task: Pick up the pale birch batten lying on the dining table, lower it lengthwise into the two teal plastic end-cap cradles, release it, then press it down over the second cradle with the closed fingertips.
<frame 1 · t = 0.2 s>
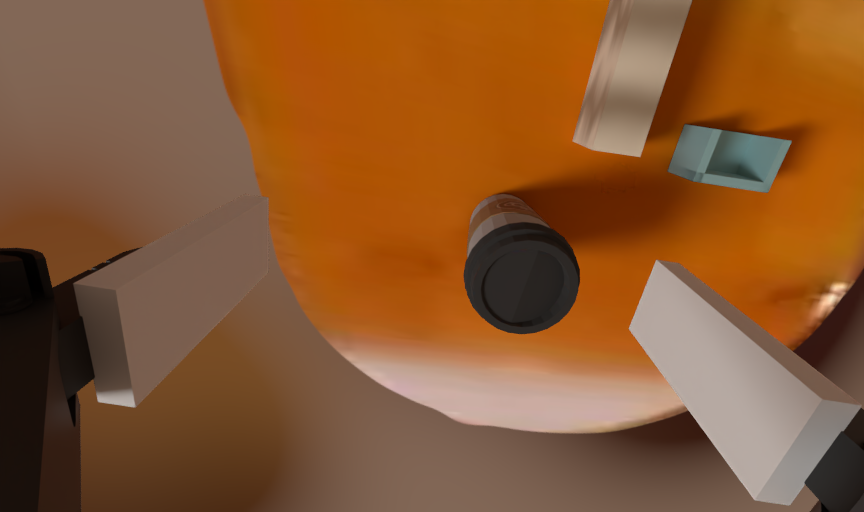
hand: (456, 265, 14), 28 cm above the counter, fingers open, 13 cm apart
slat: (626, 25, 35), on the counter
end caps: (753, 45, 35), on the counter
coffee cup: (500, 222, 42), on the counter
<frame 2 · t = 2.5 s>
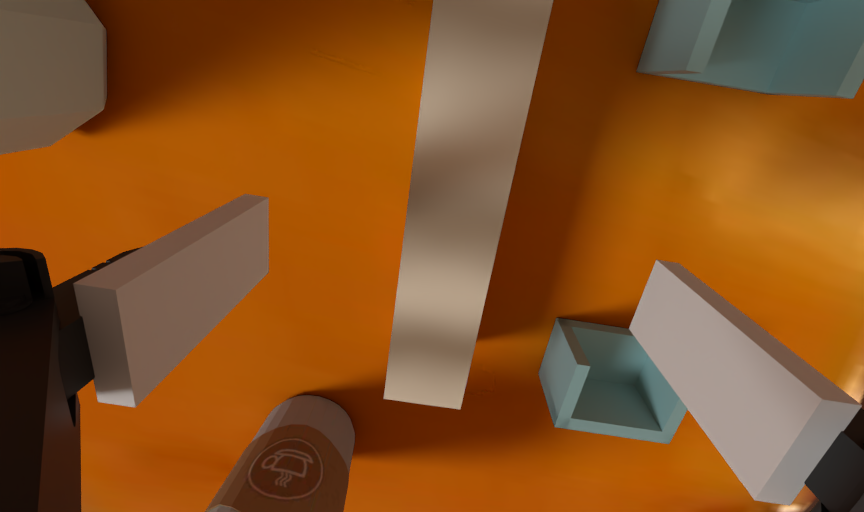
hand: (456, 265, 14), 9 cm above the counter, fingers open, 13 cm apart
slat: (452, 186, 22), on the counter
end caps: (649, 219, 22), on the counter
coffee cup: (314, 423, 30), on the counter
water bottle: (30, 39, 20), on the counter
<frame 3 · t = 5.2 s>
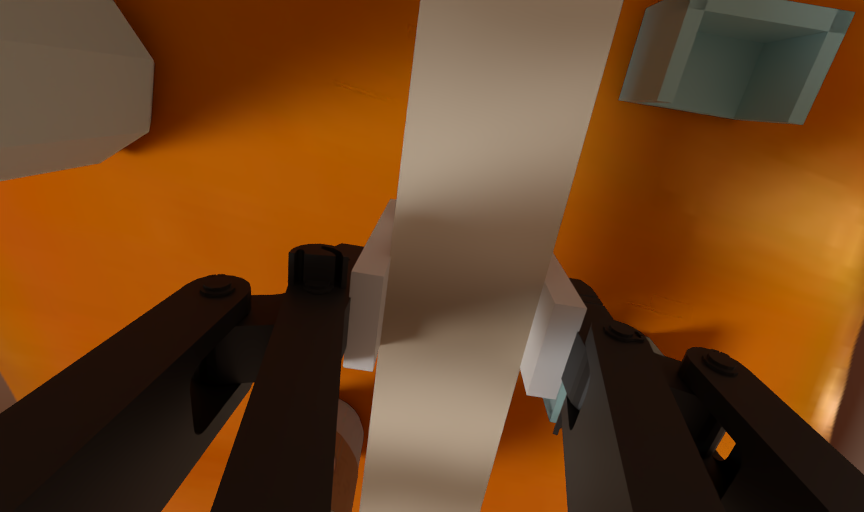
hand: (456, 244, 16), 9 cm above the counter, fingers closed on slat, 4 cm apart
slat: (455, 243, 17), point 9 cm above the counter, touching gripper
end caps: (635, 230, 25), on the counter
coffee cup: (325, 422, 32), on the counter
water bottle: (87, 70, 23), on the counter
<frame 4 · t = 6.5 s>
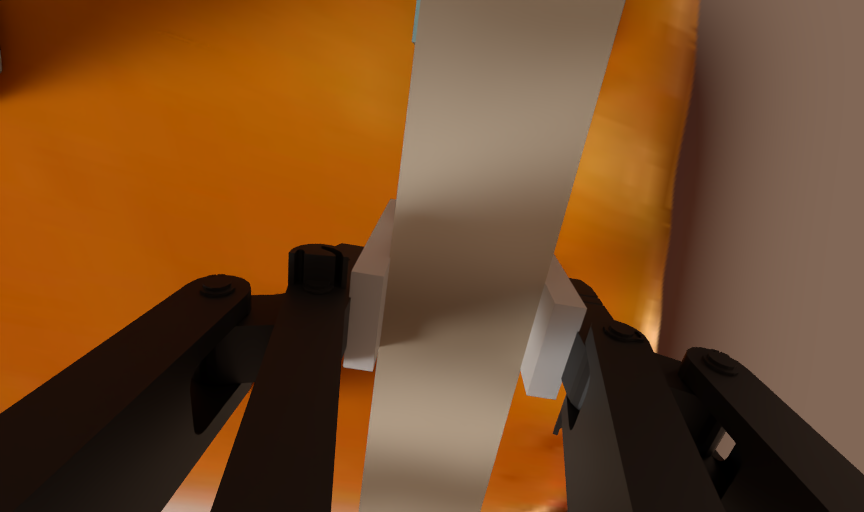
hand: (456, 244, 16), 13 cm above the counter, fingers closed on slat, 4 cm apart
slat: (455, 244, 16), point 12 cm above the counter, touching gripper
when the fingers open (1 cm above the counter, at t = 8.2 s): slat stays where it is, resting on end caps.
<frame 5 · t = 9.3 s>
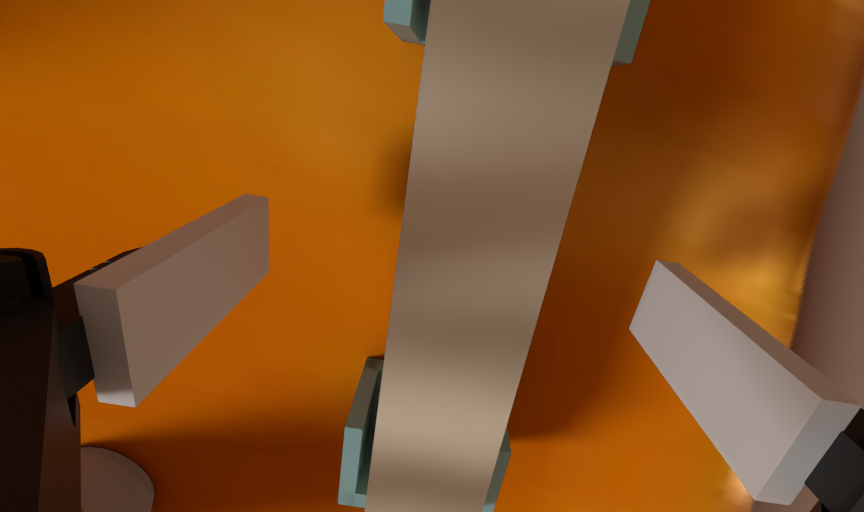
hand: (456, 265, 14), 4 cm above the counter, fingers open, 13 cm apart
slat: (458, 249, 17), point 1 cm above the counter, touching end caps
end caps: (458, 235, 17), on the counter
coffee cup: (108, 480, 25), on the counter
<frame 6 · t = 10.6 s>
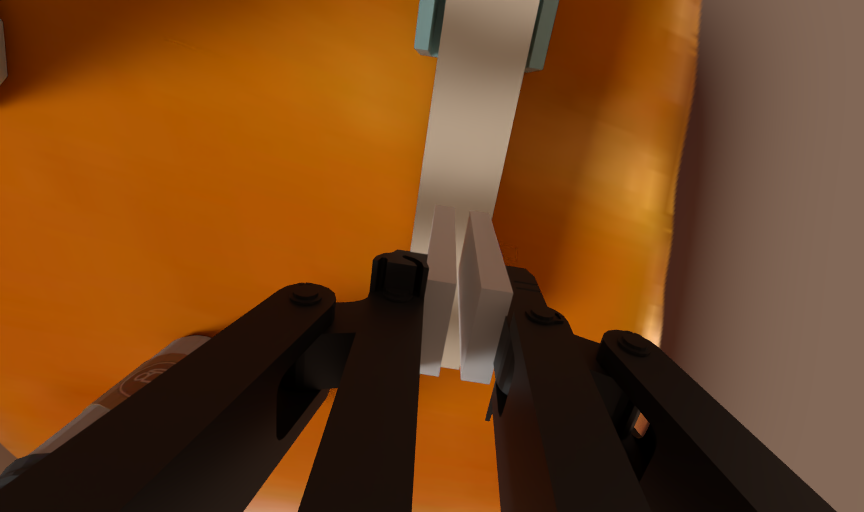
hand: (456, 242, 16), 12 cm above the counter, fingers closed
slat: (454, 184, 27), point 1 cm above the counter, touching end caps
end caps: (454, 177, 27), on the counter
coffee cup: (206, 362, 35), on the counter
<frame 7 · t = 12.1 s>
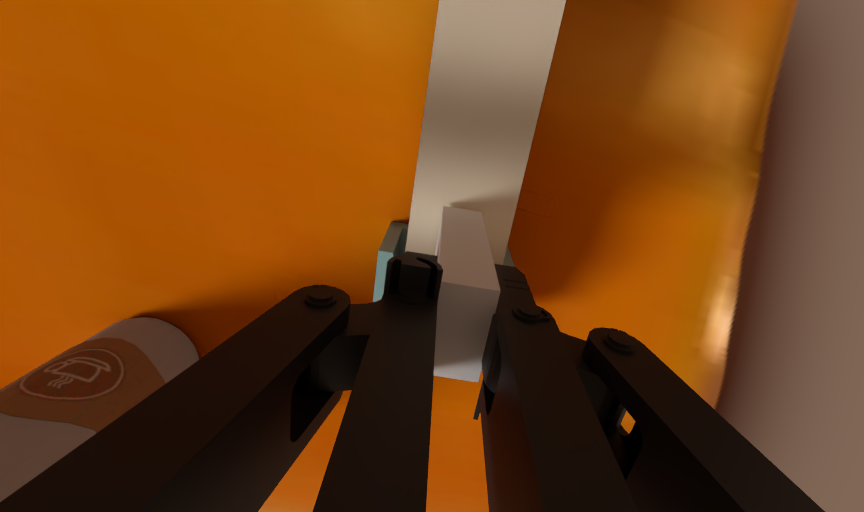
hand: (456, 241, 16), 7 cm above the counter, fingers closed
slat: (472, 108, 20), point 1 cm above the counter, touching end caps, gripper
end caps: (471, 101, 21), on the counter
coffee cup: (158, 352, 28), on the counter
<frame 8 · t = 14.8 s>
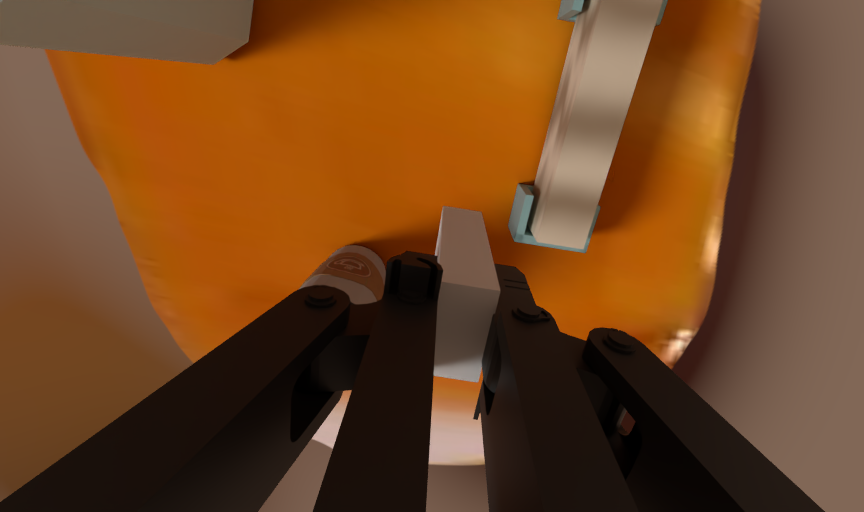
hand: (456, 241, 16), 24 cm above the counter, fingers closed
slat: (574, 117, 36), point 1 cm above the counter, touching end caps
end caps: (572, 113, 37), on the counter
coffee cup: (357, 269, 44), on the counter
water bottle: (206, 1, 35), on the counter
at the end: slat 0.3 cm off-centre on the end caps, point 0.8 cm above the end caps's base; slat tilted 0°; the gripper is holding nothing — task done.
